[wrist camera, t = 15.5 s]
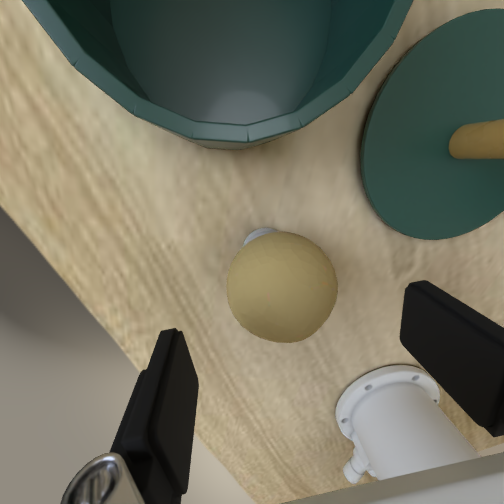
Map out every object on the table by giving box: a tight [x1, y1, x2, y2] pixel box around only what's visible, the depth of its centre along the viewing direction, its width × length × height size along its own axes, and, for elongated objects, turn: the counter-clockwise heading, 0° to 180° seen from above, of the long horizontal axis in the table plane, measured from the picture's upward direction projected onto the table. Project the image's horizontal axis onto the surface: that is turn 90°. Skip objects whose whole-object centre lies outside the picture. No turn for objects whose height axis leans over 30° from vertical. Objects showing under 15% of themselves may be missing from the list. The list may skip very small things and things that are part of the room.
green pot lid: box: [361, 9, 504, 240], centre depth 16 cm, size 16×16×6 cm
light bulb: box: [226, 228, 338, 343], centre depth 16 cm, size 6×6×10 cm
